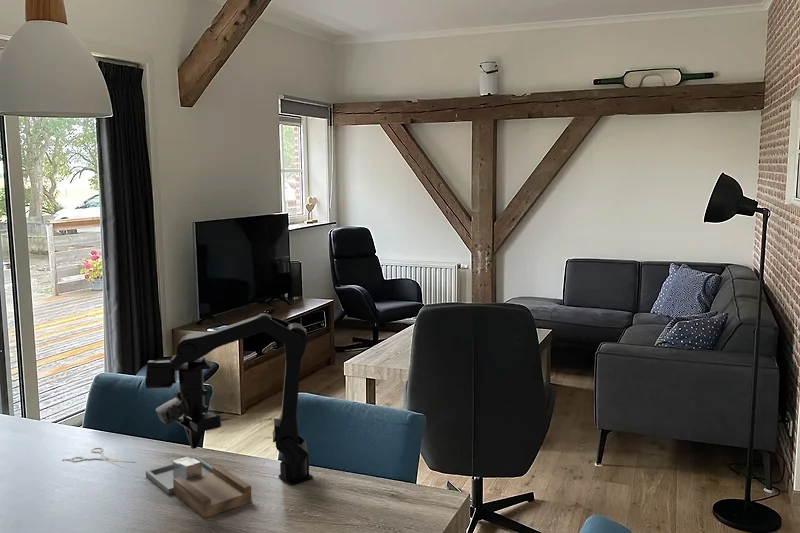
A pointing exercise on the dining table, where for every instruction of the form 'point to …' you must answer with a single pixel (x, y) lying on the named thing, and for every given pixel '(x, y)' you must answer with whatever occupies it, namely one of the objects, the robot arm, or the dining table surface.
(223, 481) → the slot block
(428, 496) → the dining table surface
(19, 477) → the dining table surface
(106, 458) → the scissors
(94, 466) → the dining table surface
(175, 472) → the grey metal cube
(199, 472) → the brushed metal block
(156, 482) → the tray
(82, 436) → the dining table surface
